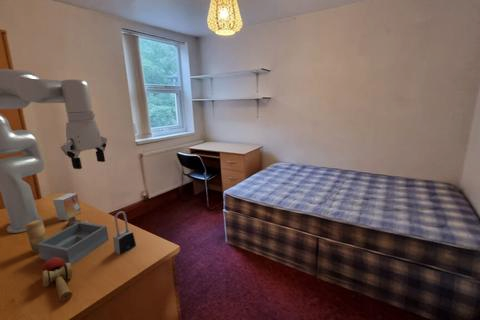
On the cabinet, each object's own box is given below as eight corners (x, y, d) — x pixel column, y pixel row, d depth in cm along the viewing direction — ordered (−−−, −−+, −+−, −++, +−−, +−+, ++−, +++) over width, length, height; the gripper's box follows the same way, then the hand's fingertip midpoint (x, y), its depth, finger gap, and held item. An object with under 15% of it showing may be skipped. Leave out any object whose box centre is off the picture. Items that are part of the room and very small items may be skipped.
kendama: (86, 294, 70) (69, 260, 81) (78, 280, 67) (61, 247, 78) (55, 314, 65) (41, 276, 76) (45, 300, 62) (32, 262, 73)
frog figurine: (56, 228, 105) (54, 221, 104) (86, 218, 113) (85, 211, 112) (61, 238, 97) (59, 230, 96) (94, 227, 105) (92, 219, 104)
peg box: (41, 258, 84) (37, 244, 82) (82, 234, 99) (79, 221, 97) (70, 266, 80) (66, 250, 78) (108, 239, 94) (106, 226, 93)
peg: (29, 252, 88) (21, 225, 85) (43, 244, 92) (36, 219, 90) (38, 254, 86) (31, 227, 83) (52, 246, 91) (46, 220, 88)
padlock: (119, 255, 85) (113, 217, 81) (113, 251, 87) (107, 214, 83) (137, 245, 90) (131, 209, 86) (130, 242, 92) (125, 206, 89)
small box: (67, 221, 111) (62, 200, 108) (57, 220, 112) (52, 199, 109) (81, 213, 118) (77, 193, 115) (72, 212, 119) (68, 192, 117)
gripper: (94, 115, 91) (101, 158, 95) (47, 119, 75) (58, 171, 79) (109, 115, 89) (116, 159, 93) (64, 119, 73) (75, 172, 77)
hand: (90, 164), depth 86 cm, fingers open, 9 cm apart
